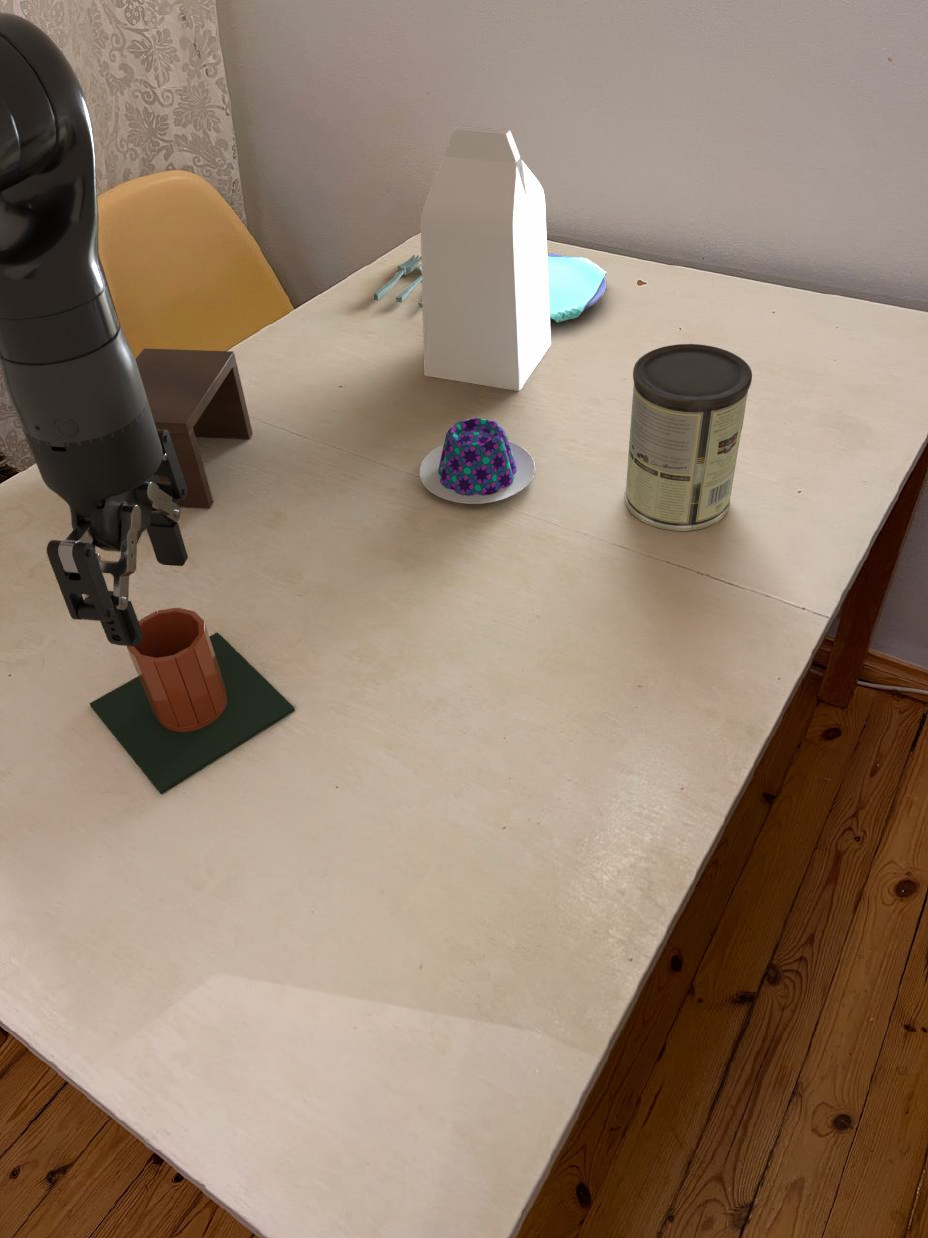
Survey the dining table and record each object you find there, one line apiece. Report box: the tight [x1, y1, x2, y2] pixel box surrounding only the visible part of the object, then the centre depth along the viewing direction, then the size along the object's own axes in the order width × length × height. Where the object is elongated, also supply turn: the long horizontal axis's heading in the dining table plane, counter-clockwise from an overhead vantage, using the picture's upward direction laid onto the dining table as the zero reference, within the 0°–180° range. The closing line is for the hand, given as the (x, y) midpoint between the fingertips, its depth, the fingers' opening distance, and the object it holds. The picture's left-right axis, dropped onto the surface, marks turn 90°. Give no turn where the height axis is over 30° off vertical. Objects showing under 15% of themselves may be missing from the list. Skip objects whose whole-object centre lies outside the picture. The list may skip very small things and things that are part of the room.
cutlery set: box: [372, 252, 608, 323], centre depth 129 cm, size 20×30×2 cm, turn 69°
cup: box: [126, 607, 227, 732], centre depth 75 cm, size 6×6×8 cm
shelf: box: [135, 347, 254, 510], centre depth 100 cm, size 14×10×10 cm
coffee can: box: [624, 343, 753, 532], centre depth 90 cm, size 10×10×14 cm
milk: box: [420, 125, 552, 392], centre depth 108 cm, size 12×12×26 cm
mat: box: [89, 631, 296, 795], centre depth 78 cm, size 12×12×1 cm
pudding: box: [418, 417, 537, 505], centre depth 98 cm, size 12×12×5 cm
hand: (152, 601), depth 70 cm, fingers open, 8 cm apart
